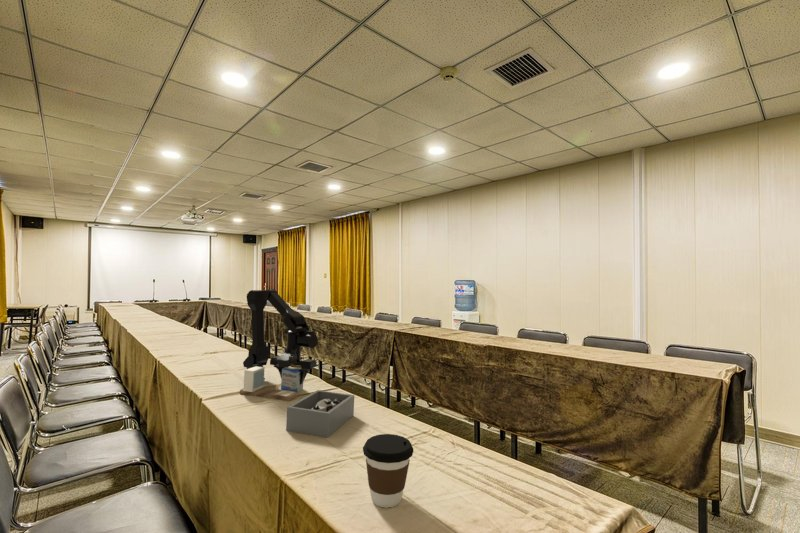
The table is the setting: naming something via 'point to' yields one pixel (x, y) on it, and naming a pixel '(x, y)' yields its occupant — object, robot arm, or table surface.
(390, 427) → the table surface
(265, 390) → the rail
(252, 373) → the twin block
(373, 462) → the coffee cup
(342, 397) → the tray
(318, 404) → the camera
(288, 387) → the medicine box
